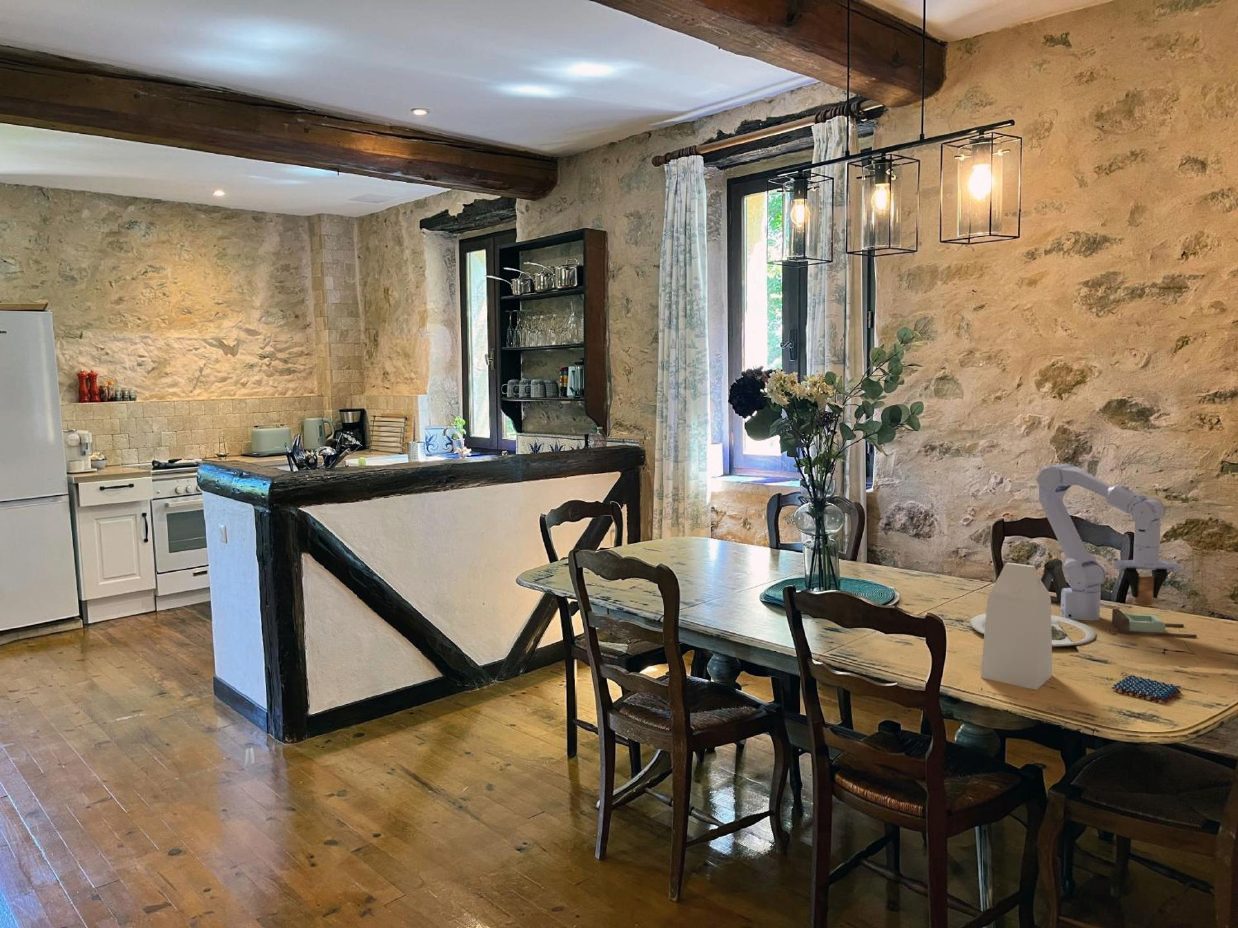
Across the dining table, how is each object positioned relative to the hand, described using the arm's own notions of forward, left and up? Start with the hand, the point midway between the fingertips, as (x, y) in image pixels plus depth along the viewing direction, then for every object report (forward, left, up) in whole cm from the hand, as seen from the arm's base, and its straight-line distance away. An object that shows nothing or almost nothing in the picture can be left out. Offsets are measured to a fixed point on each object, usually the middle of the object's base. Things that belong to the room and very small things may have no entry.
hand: (1144, 596), depth 226 cm
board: (+2, -3, -10) cm, 11 cm away
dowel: (0, 0, -2) cm, 2 cm away
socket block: (0, 0, -9) cm, 9 cm away
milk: (-37, -41, -10) cm, 56 cm away
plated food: (-28, -5, -10) cm, 30 cm away
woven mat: (-12, -45, -11) cm, 48 cm away
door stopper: (-16, +32, -10) cm, 37 cm away
